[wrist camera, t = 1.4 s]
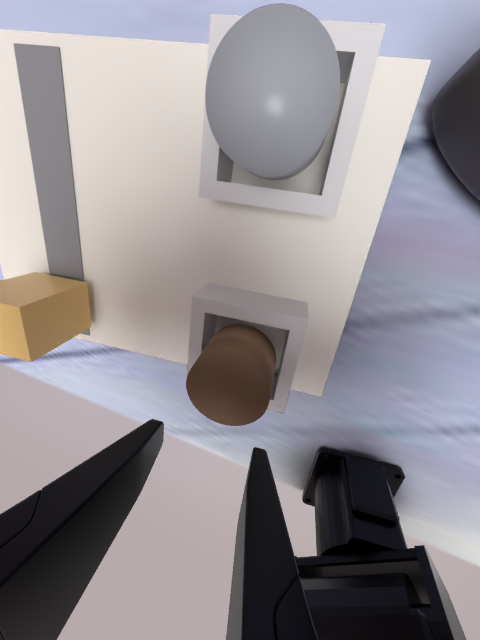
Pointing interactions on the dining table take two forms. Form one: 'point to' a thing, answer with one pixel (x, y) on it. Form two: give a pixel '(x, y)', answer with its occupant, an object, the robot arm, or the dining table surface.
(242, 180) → the control panel
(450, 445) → the dining table surface
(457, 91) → the leaning round-cornered charcoal block
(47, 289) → the tan wooden brick
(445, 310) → the dining table surface
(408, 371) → the dining table surface
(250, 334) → the walnut button
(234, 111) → the grey button
